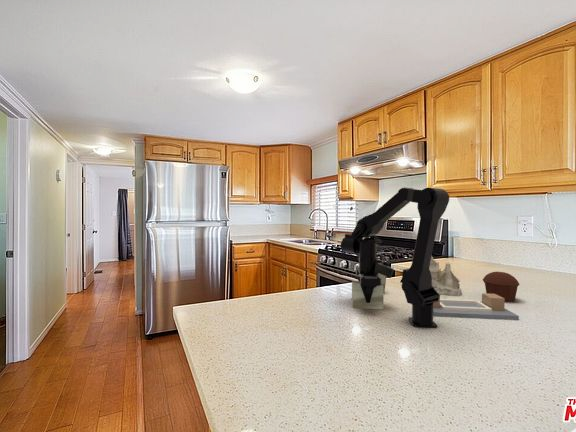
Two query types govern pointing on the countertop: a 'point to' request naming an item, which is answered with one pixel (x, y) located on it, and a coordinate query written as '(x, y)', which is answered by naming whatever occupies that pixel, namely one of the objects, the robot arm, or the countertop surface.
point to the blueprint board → (474, 308)
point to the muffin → (501, 285)
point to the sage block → (360, 300)
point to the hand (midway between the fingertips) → (367, 300)
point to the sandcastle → (444, 280)
